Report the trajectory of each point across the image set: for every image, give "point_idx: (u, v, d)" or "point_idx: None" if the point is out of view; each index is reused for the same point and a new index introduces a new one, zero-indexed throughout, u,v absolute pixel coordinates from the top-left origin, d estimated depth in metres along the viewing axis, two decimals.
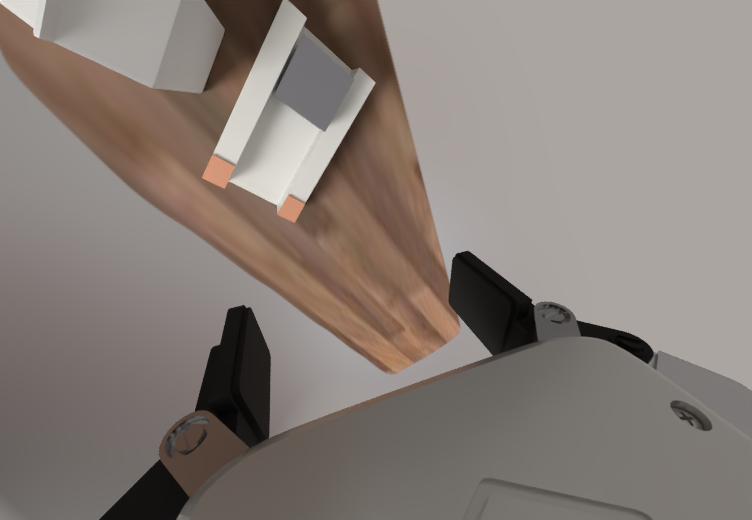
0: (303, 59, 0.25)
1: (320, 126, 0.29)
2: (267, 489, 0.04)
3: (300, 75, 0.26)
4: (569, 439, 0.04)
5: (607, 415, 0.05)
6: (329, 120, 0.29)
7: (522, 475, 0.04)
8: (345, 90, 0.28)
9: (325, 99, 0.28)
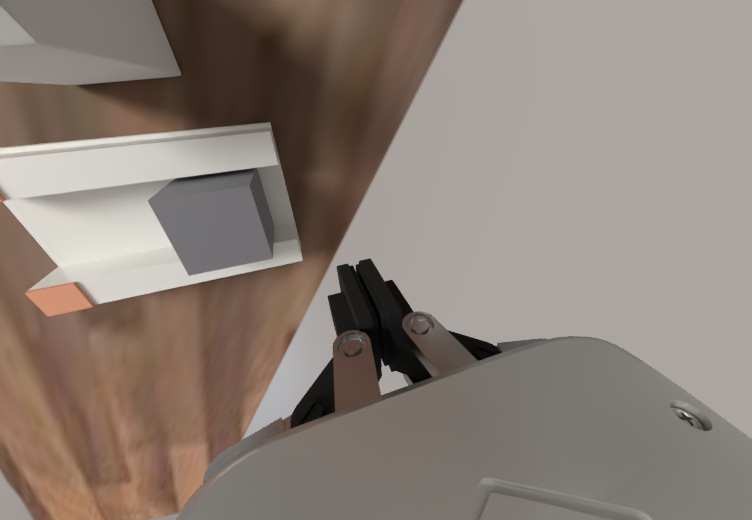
0: (226, 202, 0.18)
1: (187, 267, 0.19)
2: (267, 489, 0.04)
3: (208, 210, 0.18)
4: (569, 439, 0.04)
5: (607, 415, 0.05)
6: (206, 269, 0.20)
7: (522, 475, 0.04)
8: (253, 259, 0.21)
9: (219, 250, 0.19)
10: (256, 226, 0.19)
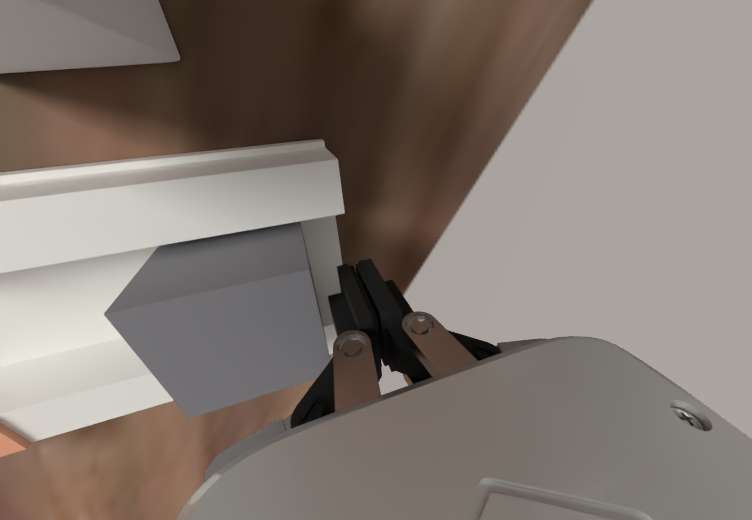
0: (264, 299, 0.09)
1: (186, 407, 0.11)
2: (267, 489, 0.04)
3: (228, 317, 0.09)
4: (569, 439, 0.04)
5: (607, 415, 0.05)
6: (220, 405, 0.11)
7: (522, 475, 0.04)
8: (301, 379, 0.12)
9: (245, 375, 0.11)
10: (313, 331, 0.11)
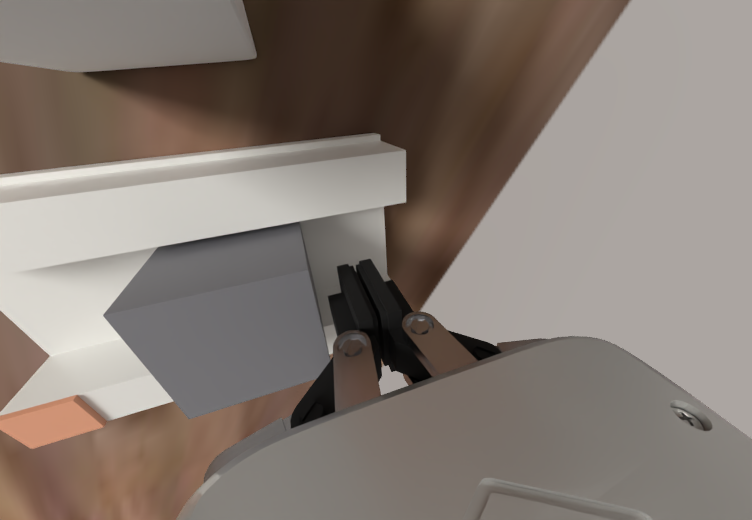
0: (263, 300, 0.09)
1: (187, 408, 0.11)
2: (267, 489, 0.04)
3: (227, 318, 0.09)
4: (569, 439, 0.04)
5: (607, 415, 0.05)
6: (220, 406, 0.11)
7: (522, 475, 0.04)
8: (301, 379, 0.12)
9: (245, 375, 0.11)
10: (312, 332, 0.11)
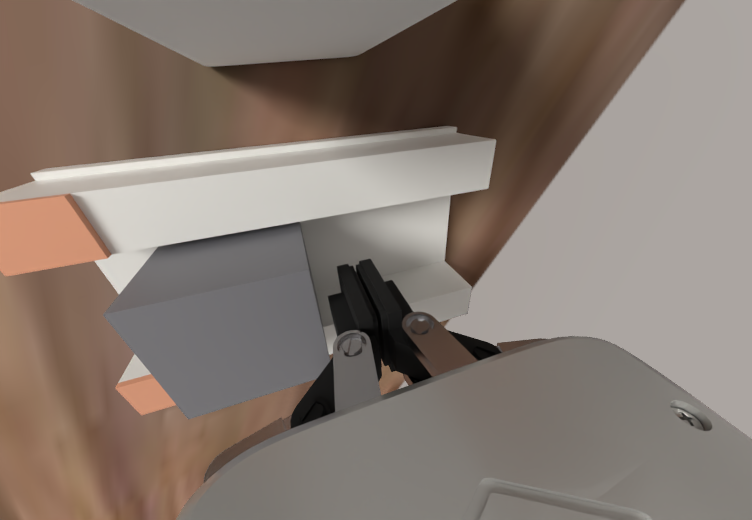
0: (263, 300, 0.09)
1: (186, 408, 0.11)
2: (267, 489, 0.04)
3: (227, 318, 0.09)
4: (569, 439, 0.04)
5: (607, 415, 0.05)
6: (220, 406, 0.11)
7: (522, 475, 0.04)
8: (301, 379, 0.12)
9: (245, 375, 0.11)
10: (312, 332, 0.11)
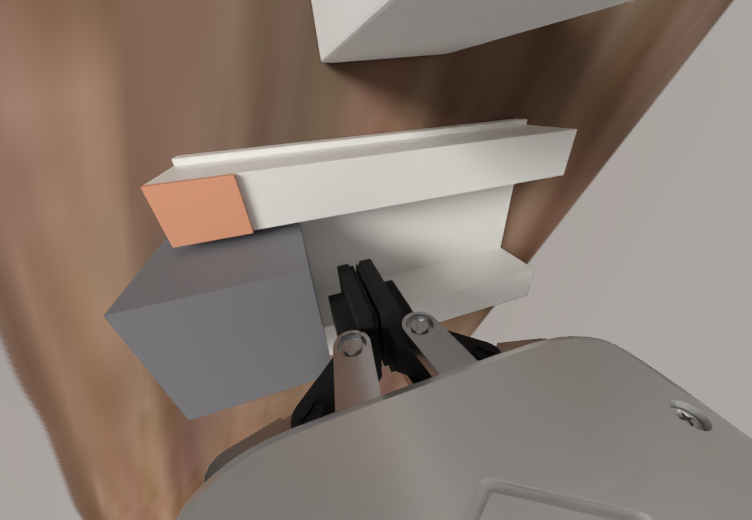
0: (264, 300, 0.09)
1: (187, 409, 0.11)
2: (267, 489, 0.04)
3: (228, 318, 0.09)
4: (569, 439, 0.04)
5: (607, 415, 0.05)
6: (220, 407, 0.11)
7: (522, 475, 0.04)
8: (302, 380, 0.12)
9: (245, 376, 0.11)
10: (313, 332, 0.11)
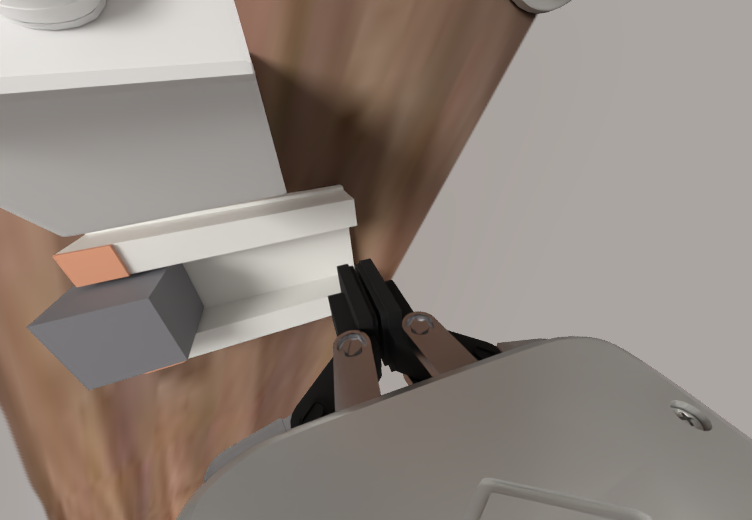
0: (123, 316, 0.17)
1: (85, 382, 0.18)
2: (267, 489, 0.04)
3: (101, 326, 0.17)
4: (569, 439, 0.04)
5: (607, 415, 0.05)
6: (109, 381, 0.18)
7: (522, 475, 0.04)
8: (164, 364, 0.19)
9: (122, 361, 0.18)
10: (162, 333, 0.18)
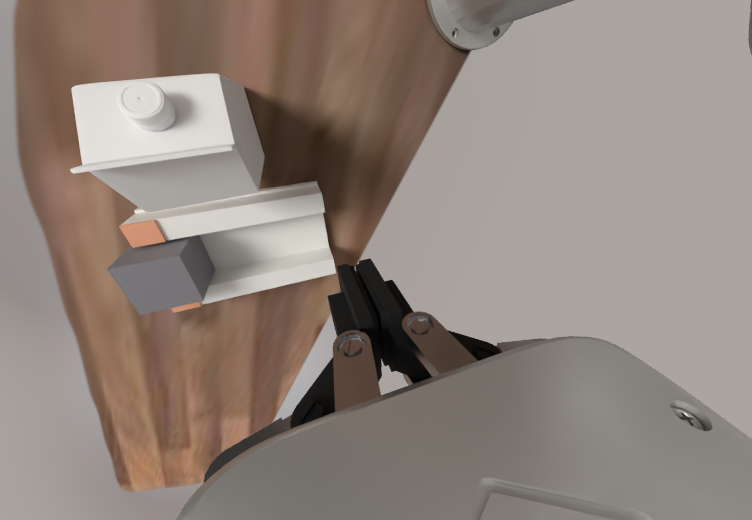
0: (163, 266, 0.26)
1: (139, 309, 0.27)
2: (267, 489, 0.04)
3: (150, 272, 0.26)
4: (569, 439, 0.04)
5: (607, 415, 0.05)
6: (153, 310, 0.28)
7: (522, 475, 0.04)
8: (188, 302, 0.29)
9: (161, 297, 0.28)
10: (187, 280, 0.27)
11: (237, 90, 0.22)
